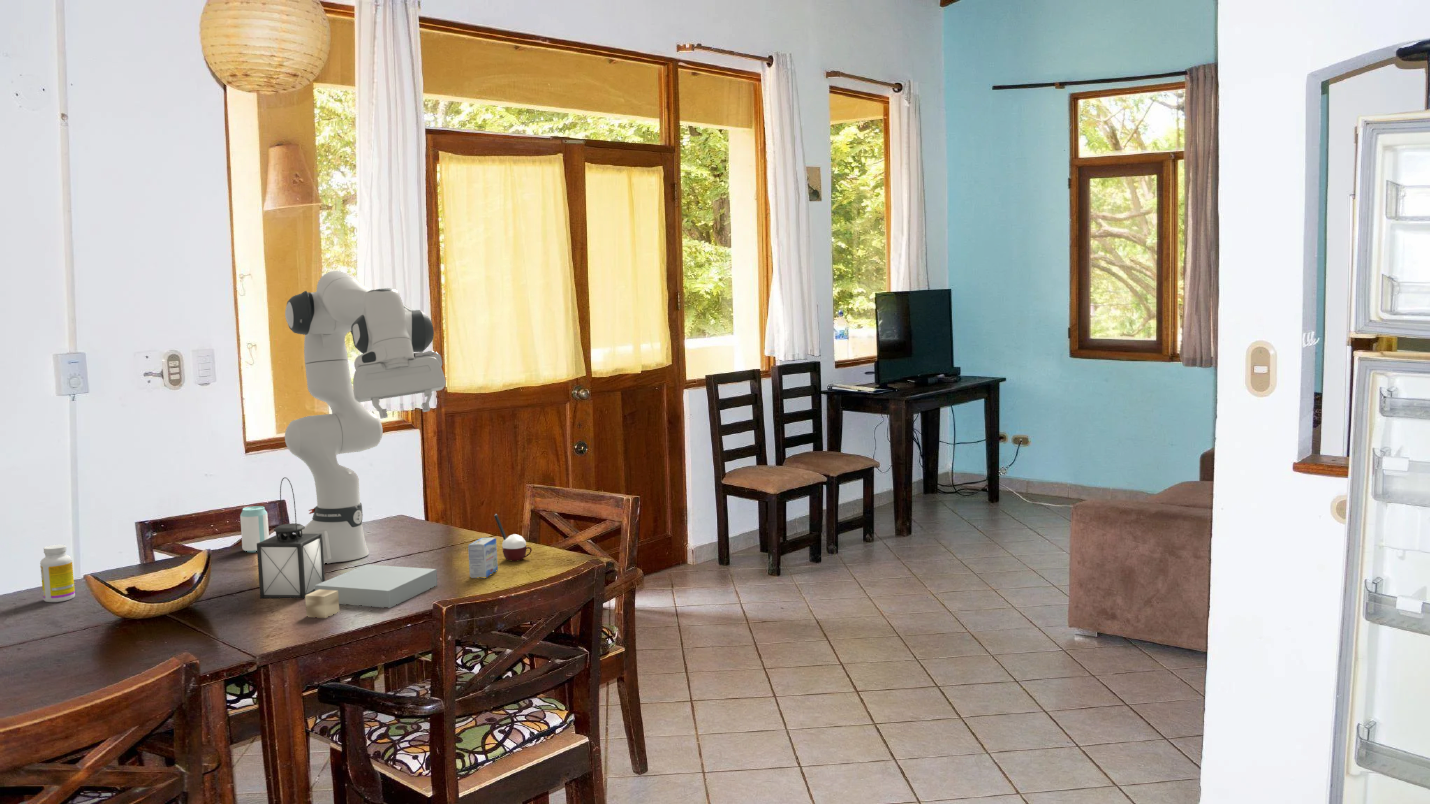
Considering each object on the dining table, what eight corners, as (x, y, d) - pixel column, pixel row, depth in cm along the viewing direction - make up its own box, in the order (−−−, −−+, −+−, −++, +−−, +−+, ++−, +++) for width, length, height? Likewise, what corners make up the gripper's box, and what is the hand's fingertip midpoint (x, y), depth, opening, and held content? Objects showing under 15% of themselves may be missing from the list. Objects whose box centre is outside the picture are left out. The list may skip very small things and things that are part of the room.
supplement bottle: (81, 596, 278) (77, 544, 277) (58, 604, 272) (53, 550, 270) (60, 594, 280) (56, 542, 279) (36, 602, 274) (32, 549, 273)
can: (237, 550, 323) (235, 508, 321) (261, 546, 328) (259, 504, 327) (250, 554, 318) (247, 511, 317) (274, 549, 323) (271, 507, 322)
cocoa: (534, 560, 306) (535, 515, 305) (520, 564, 301) (520, 519, 300) (505, 555, 311) (506, 511, 309) (491, 559, 305) (491, 514, 304)
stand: (315, 602, 268) (314, 585, 268) (367, 580, 287) (366, 564, 287) (389, 608, 262) (388, 590, 262) (437, 585, 281) (436, 569, 281)
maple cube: (306, 617, 257) (305, 595, 256) (320, 610, 262) (319, 589, 261) (325, 618, 255) (324, 596, 255) (339, 612, 260) (338, 590, 259)
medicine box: (486, 579, 286) (484, 544, 285) (469, 578, 287) (467, 544, 286) (498, 571, 294) (496, 537, 293) (481, 570, 295) (480, 537, 294)
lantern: (282, 586, 284) (275, 473, 281) (326, 586, 282) (318, 473, 279) (259, 599, 273) (251, 482, 270) (304, 599, 271) (296, 481, 268)
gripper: (437, 353, 269) (449, 410, 267) (347, 365, 261) (358, 424, 259) (441, 345, 264) (453, 403, 261) (349, 358, 256) (360, 418, 253)
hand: (405, 414), depth 260 cm, fingers open, 8 cm apart
